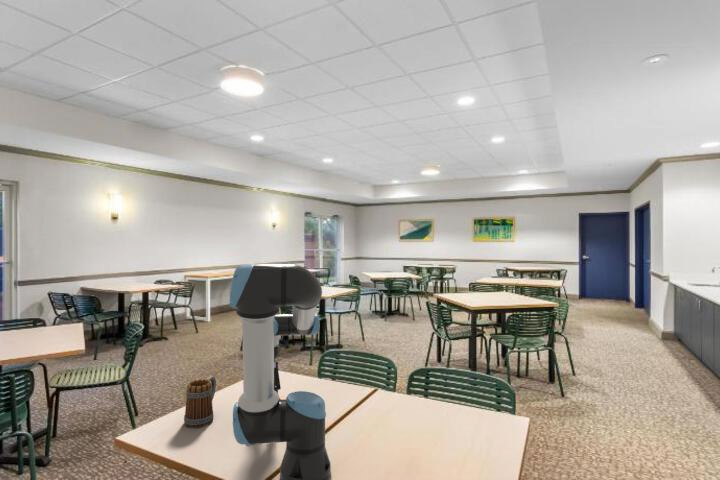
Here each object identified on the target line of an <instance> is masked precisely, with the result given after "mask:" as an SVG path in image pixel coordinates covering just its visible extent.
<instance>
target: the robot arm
mask: <svg viewBox="0 0 720 480" xmlns="http://www.w3.org/2000/svg"><path fill="white" fill-rule="evenodd" d="M230 284H231V285H230V286H231V287H230V292H229V306H230V308H233V309H236V310H235V312H236V313H235V314H236V316H237V317H238V318H240V319H241V320H242V322H241V323H242V326H241V328H242V372H243V373H242V381H243V382H242V383H243V388H242V389H243V393H242V394H241V395H240V396H239V398H238V401H237V402H235V403H234V405H233V407H232V408H233V409H232V431H233V435H234V440H235V441H236V442H237V444H239V445H250V446H253V445H260V444H273V443H286V444H285V445H286V447H285V451H284V454H283V457H282V460H281V464H280V466H279V478H280V480H328V479H329V477H330V476H331V473H332V471H331V461H330V458H329V455H328V451H327V448H326V417H327V413H326V403H325V402H326V401H325V399H324V398H323V397H321V396H320V395H319V394H316V393H315V392H311V391H305V390H304V391H303V390H300V391H299V390H298V391H293V392H290V393H289V394H287V396H286V398H285V400H279V397H280V395H279V391H280V390H281V381H280V380H281V379H280V374H279V366H278V365H279V363H278V361H275V358H276V357H278V356H279V355H280V346H279V344H280V338H281V336H312V335H317V334H319V331H320V330H319V329H320V328H319V327H320V317H319V314H318V313H316V311H317V306H318V305H319V304H320V302H321V300H322V295H323V288H322V285H321V282H320V281H319V279H318V277H317V276H316V275H315V274H314V273H313V272H311V271H310V270H309V269H307V268H305V267H303V266H302V265H297V264H294V263H286V264H285V263H284V264H283V263H282V264H281V263H249V264H239V265H238V266H237V267H236V268H235V270H234V272H233V275H232V280H231V283H230ZM280 307H292V313H289V314H288V313H287V314H285V313H283V314H280Z"/></svg>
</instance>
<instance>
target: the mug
mask: <svg viewBox="0 0 720 480" xmlns="http://www.w3.org/2000/svg"><path fill="white" fill-rule="evenodd" d="M216 380H217V379H216V378H215V377H214V376H207V377H206V379H202V378H201V379H197V380H196V379H195V380H192V381H189V383H187V387H186V392H185V393H186V394H185V397H186V398H185V399H186V400H185V411H184V416H183V422H184V425H185V426H186V427H188V428H190V429H192V428H195V429H197V428H202V427H206V426H208V425H209V424H211V423H212V422H213V420H214V409H213V399H214V398H215V394H216V388H217V387H216V386H217V382H216Z"/></svg>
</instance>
